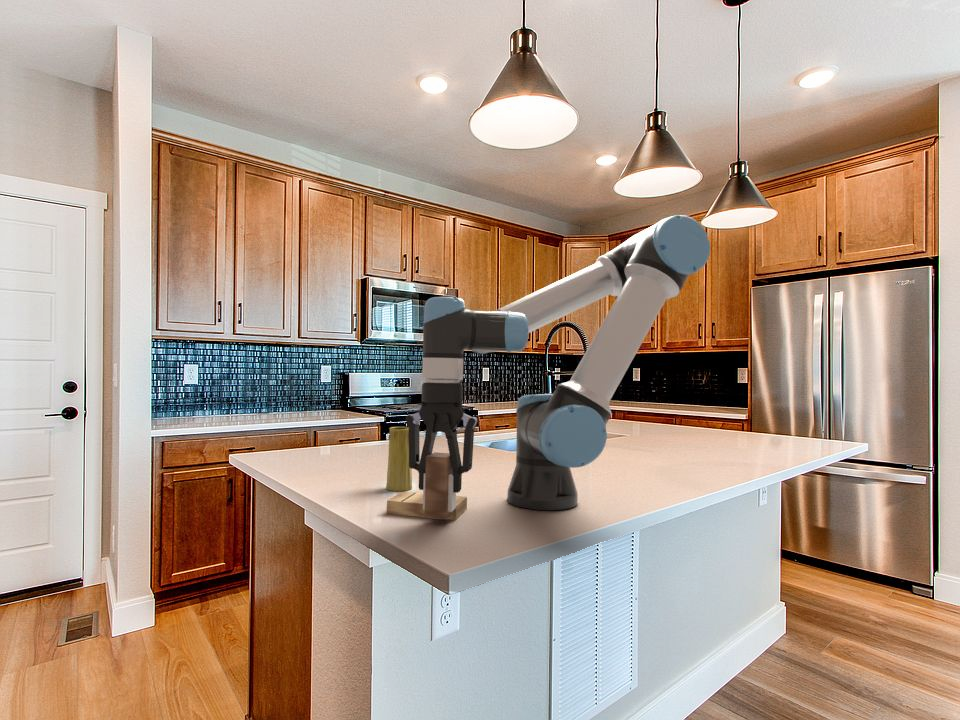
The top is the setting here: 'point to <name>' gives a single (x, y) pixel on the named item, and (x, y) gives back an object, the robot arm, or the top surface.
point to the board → (419, 505)
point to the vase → (399, 460)
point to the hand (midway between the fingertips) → (439, 508)
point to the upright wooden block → (437, 485)
